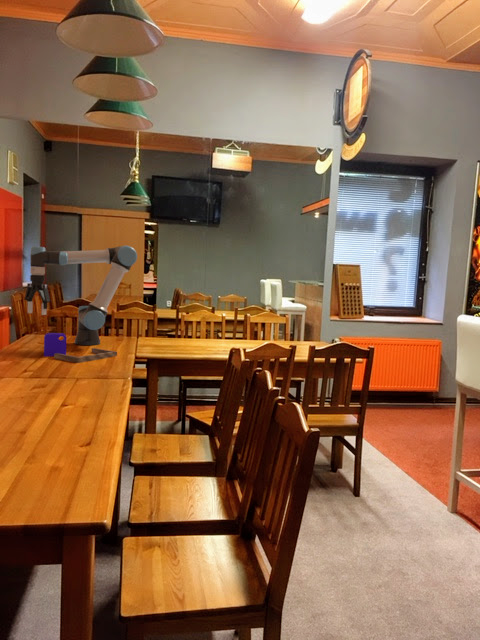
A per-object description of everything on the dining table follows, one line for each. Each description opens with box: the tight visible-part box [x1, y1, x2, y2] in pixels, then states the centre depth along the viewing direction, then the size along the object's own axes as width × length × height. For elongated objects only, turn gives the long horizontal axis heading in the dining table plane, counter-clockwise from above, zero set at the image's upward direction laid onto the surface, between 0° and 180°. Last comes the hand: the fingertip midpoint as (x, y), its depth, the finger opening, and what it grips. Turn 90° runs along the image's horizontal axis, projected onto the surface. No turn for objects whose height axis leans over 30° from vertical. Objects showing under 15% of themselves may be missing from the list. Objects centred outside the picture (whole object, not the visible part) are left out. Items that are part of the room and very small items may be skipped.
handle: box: [53, 347, 118, 364], centre depth 273 cm, size 28×17×2 cm, turn 151°
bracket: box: [43, 332, 67, 357], centre depth 279 cm, size 18×11×12 cm, turn 22°
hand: (36, 313), depth 288 cm, fingers open, 11 cm apart
